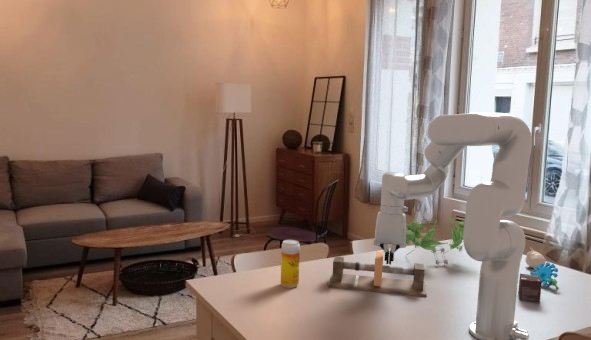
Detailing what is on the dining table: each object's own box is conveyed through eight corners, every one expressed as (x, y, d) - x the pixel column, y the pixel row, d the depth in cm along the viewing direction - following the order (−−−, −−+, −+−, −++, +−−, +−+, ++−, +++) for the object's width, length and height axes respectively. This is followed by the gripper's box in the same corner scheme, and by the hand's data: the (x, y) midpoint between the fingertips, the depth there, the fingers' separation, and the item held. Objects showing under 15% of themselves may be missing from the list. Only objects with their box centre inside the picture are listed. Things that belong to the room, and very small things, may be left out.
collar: (382, 277, 174) (383, 252, 173) (381, 286, 165) (382, 260, 164) (374, 276, 175) (376, 251, 173) (373, 285, 166) (375, 259, 165)
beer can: (296, 289, 164) (298, 245, 162) (278, 287, 166) (279, 243, 164) (300, 282, 170) (301, 240, 168) (282, 281, 171) (284, 238, 169)
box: (537, 297, 164) (540, 275, 163) (540, 304, 159) (542, 281, 158) (517, 294, 166) (519, 273, 165) (519, 300, 161) (521, 278, 160)
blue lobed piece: (522, 275, 180) (544, 256, 180) (531, 285, 182) (552, 267, 181) (541, 290, 170) (564, 271, 169) (550, 301, 172) (573, 282, 171)
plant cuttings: (389, 277, 198) (411, 258, 179) (380, 237, 206) (401, 215, 187) (467, 273, 206) (497, 254, 187) (456, 234, 214) (484, 212, 195)
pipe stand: (424, 283, 173) (426, 261, 172) (426, 296, 161) (428, 273, 160) (332, 275, 179) (333, 253, 178) (328, 286, 167) (329, 263, 166)
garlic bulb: (540, 266, 196) (542, 246, 195) (546, 271, 190) (549, 251, 189) (523, 265, 197) (524, 245, 196) (528, 270, 191) (530, 250, 190)
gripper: (414, 209, 168) (411, 261, 171) (369, 205, 171) (367, 257, 174) (415, 213, 161) (411, 268, 163) (368, 210, 164) (365, 264, 166)
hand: (388, 263), depth 168 cm, fingers closed
